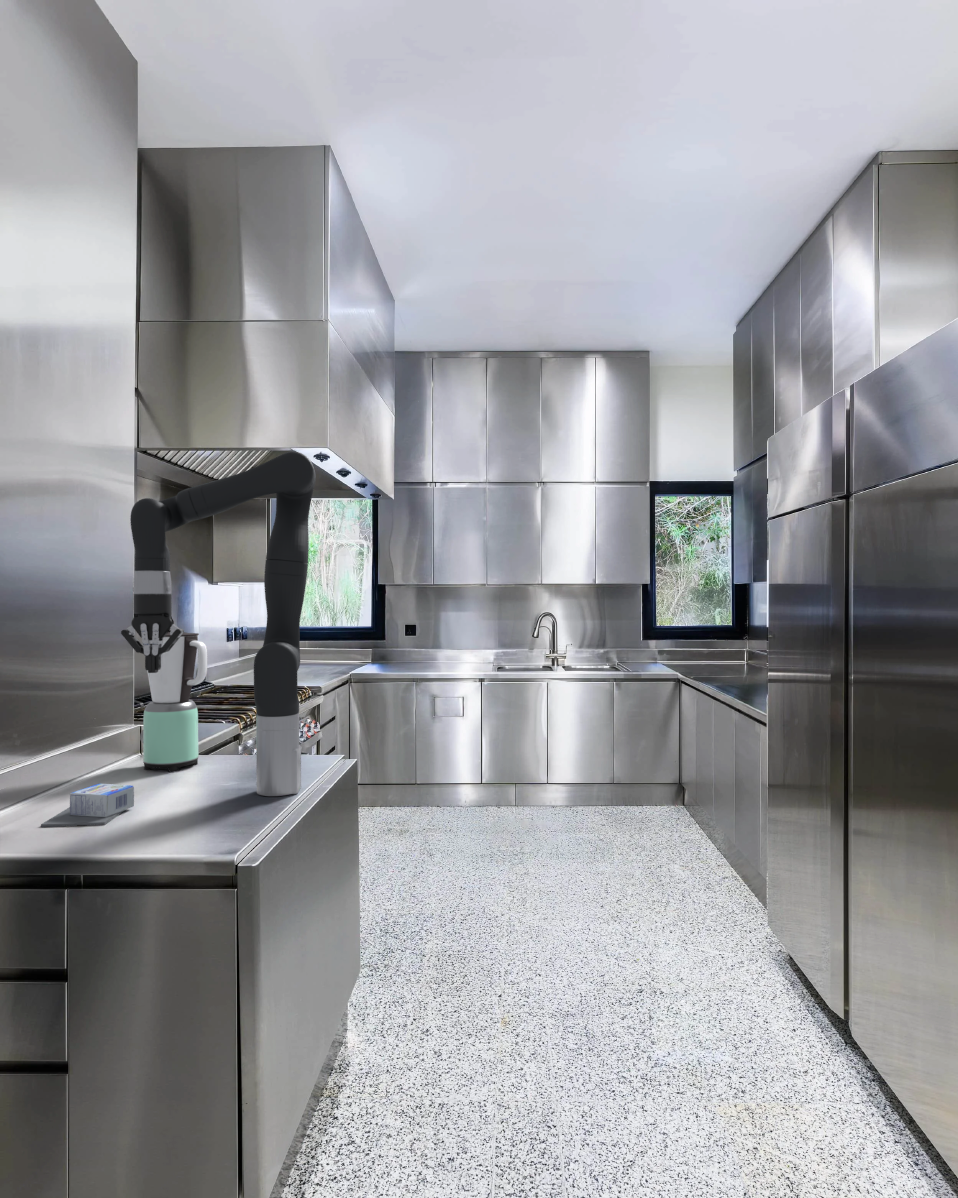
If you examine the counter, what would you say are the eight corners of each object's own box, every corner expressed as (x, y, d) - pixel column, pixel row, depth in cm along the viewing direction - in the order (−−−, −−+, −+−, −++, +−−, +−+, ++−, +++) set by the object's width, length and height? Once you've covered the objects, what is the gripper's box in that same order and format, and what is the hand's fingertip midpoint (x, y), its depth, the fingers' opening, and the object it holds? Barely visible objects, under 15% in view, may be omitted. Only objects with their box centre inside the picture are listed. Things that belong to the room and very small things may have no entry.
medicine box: (107, 795, 141) (68, 792, 142) (107, 818, 141) (68, 815, 142) (134, 785, 148) (98, 782, 150) (134, 807, 148) (97, 804, 150)
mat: (129, 807, 150) (129, 804, 150) (104, 825, 138) (104, 822, 138) (70, 809, 149) (70, 806, 149) (40, 827, 137) (40, 824, 137)
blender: (124, 770, 183) (124, 631, 183) (162, 759, 196) (161, 629, 196) (188, 775, 177) (187, 631, 177) (222, 763, 190) (222, 629, 190)
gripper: (189, 592, 162) (189, 670, 161) (127, 592, 160) (127, 671, 160) (178, 592, 154) (179, 673, 154) (113, 592, 153) (114, 674, 153)
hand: (152, 672), depth 157 cm, fingers closed
